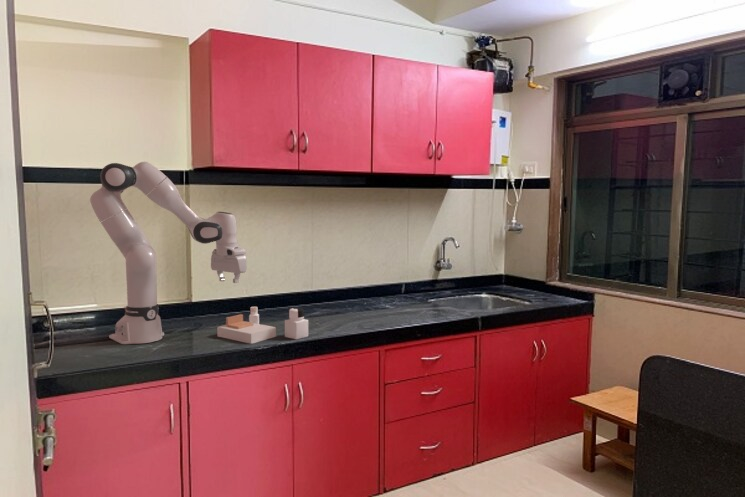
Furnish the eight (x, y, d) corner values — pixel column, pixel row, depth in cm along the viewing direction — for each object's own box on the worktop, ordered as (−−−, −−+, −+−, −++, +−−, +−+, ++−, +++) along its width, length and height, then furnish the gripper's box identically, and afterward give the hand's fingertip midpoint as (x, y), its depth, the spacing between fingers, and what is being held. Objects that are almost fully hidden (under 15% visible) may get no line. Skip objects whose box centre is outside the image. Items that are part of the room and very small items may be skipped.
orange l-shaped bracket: (226, 326, 232) (225, 317, 232) (241, 322, 239) (241, 314, 239) (238, 328, 228) (238, 320, 228) (253, 324, 235) (253, 316, 235)
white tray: (217, 336, 232) (217, 326, 231) (242, 329, 243) (242, 320, 243) (251, 343, 221) (251, 333, 220) (276, 336, 232) (275, 327, 232)
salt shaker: (258, 329, 245) (258, 308, 244) (249, 329, 244) (248, 308, 243) (259, 327, 249) (259, 306, 248) (250, 327, 248) (249, 306, 247)
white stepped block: (297, 333, 237) (296, 306, 236) (308, 336, 233) (308, 308, 232) (284, 336, 232) (284, 308, 231) (296, 339, 227) (296, 310, 226)
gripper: (206, 249, 239) (208, 281, 241) (236, 251, 226) (237, 285, 228) (218, 248, 244) (220, 279, 246) (248, 250, 231) (250, 283, 233)
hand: (228, 282), depth 237 cm, fingers open, 8 cm apart
